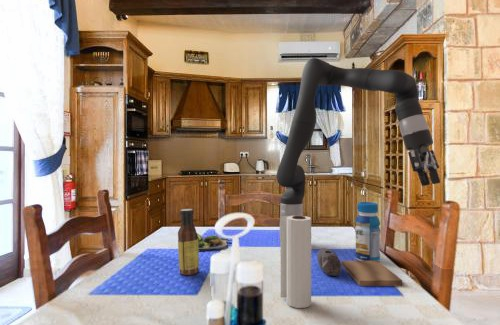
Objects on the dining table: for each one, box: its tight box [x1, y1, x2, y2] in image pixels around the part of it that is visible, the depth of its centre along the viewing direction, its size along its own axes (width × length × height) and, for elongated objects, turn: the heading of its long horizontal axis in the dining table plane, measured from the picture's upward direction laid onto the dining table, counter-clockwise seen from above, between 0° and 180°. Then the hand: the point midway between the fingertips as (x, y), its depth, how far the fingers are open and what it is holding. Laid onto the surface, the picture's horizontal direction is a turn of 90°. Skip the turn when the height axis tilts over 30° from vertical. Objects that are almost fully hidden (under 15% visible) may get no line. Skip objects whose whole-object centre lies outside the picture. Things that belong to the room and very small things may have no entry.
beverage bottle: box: [354, 201, 381, 262], centre depth 110 cm, size 8×8×20 cm
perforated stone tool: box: [316, 247, 342, 277], centre depth 100 cm, size 15×5×7 cm, turn 2°
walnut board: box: [340, 260, 403, 287], centre depth 96 cm, size 12×17×2 cm
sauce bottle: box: [177, 208, 200, 276], centre depth 98 cm, size 6×6×20 cm
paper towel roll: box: [280, 215, 312, 309], centre depth 78 cm, size 7×6×21 cm
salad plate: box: [197, 232, 232, 252], centre depth 130 cm, size 19×18×5 cm
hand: (431, 184), depth 92 cm, fingers open, 8 cm apart
